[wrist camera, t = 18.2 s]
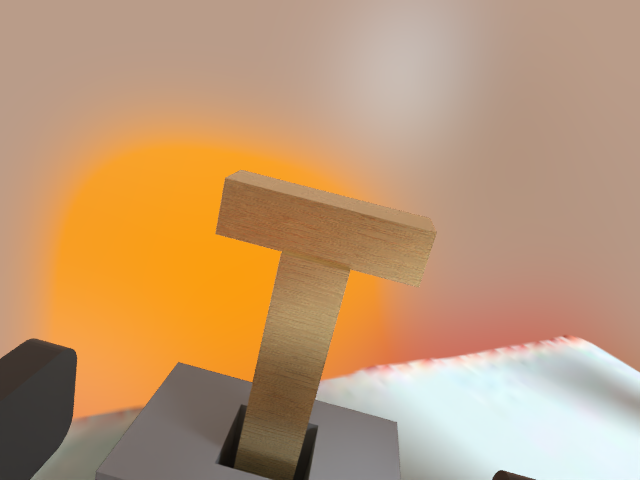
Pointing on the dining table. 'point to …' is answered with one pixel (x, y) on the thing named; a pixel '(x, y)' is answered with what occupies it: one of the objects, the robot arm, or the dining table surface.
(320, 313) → the t key
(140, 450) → the block
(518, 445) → the dining table surface
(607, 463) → the dining table surface
